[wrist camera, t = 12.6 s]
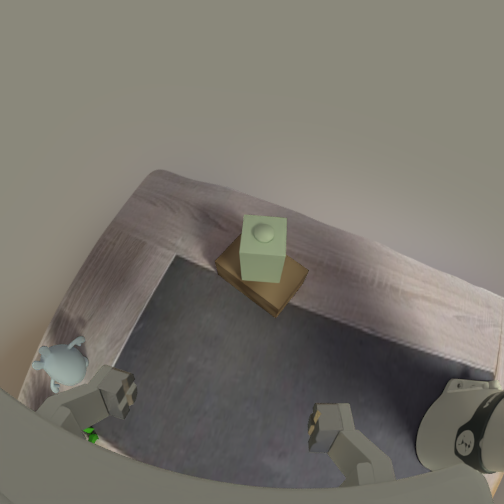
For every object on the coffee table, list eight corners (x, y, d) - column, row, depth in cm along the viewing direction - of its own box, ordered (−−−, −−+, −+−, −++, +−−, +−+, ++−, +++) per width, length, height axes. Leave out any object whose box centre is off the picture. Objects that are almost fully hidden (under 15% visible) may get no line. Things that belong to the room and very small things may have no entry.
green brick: (281, 250, 40) (287, 215, 32) (279, 283, 37) (286, 254, 30) (245, 247, 40) (244, 212, 32) (241, 280, 37) (239, 250, 30)
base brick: (302, 283, 43) (308, 270, 38) (275, 318, 40) (278, 309, 36) (247, 244, 46) (246, 227, 41) (218, 275, 43) (214, 261, 39)
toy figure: (84, 332, 38) (40, 310, 27) (111, 353, 37) (67, 337, 26) (58, 382, 33) (10, 372, 23) (83, 405, 32) (35, 403, 22)
